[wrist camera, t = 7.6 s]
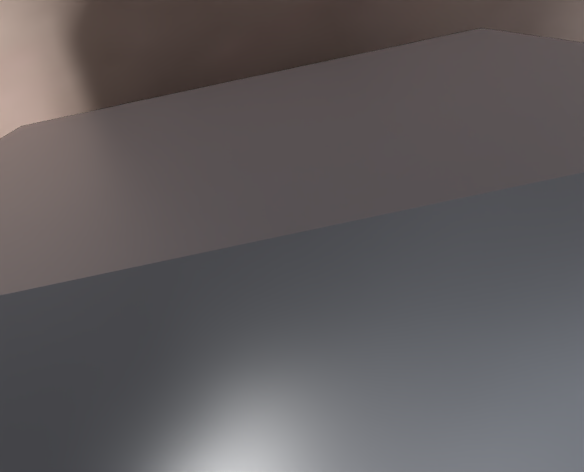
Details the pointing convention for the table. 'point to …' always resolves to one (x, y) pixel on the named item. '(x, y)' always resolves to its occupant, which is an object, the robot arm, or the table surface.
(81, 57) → the table surface
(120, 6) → the table surface
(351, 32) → the table surface
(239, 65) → the table surface
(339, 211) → the slate gray cube
